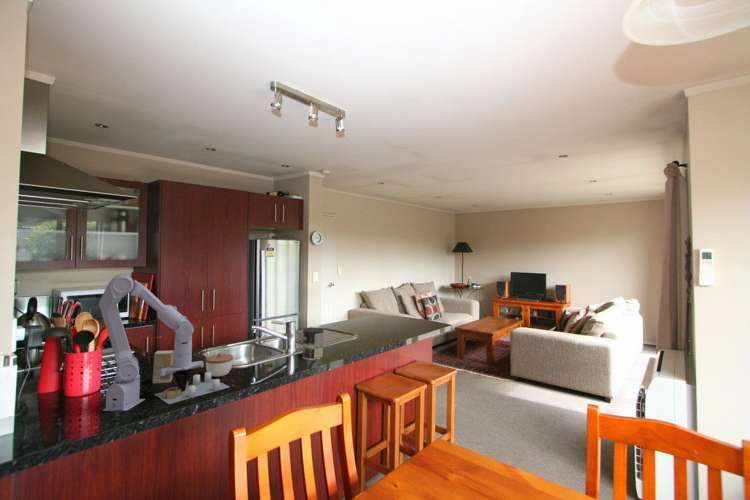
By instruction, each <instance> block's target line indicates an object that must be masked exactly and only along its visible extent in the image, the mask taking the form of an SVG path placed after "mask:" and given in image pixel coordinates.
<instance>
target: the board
mask: <svg viewBox="0 0 750 500" xmlns="http://www.w3.org/2000/svg"><path fill="white" fill-rule="evenodd" d="M228 388H230V386H229V385H227V384H225V383H223V382H221V380H220V379H219V378H215V379H214V378H212V376H211V372H207V371H206V372H204V381H201V375H200V374H194V375H193V377H192V384H189V381H188V382H187V385H186V389H185V391H183V392H181V396H179V397H177V398H173V399H167V398H165V391H162V392H157V393H154V396H156V397H157V398H159V399H160V400H162V401H163V402H165V403H166V404H168V405H172V404H174V403H178V402H182V401H186V400H189V399H191V398H192V399H193V398H196V397H199V396H203V395H208V394H211V393H213V392H218V391H220V390H225V389H228Z"/></svg>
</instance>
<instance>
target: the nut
mask: <svg viewBox="0 0 750 500" xmlns="http://www.w3.org/2000/svg"><path fill="white" fill-rule="evenodd" d="M164 392H165V398H167V399H173V398H177V397H179V396H181V389H180V388H179V387H178V386H177V387H169V388H166V389H164Z"/></svg>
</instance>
